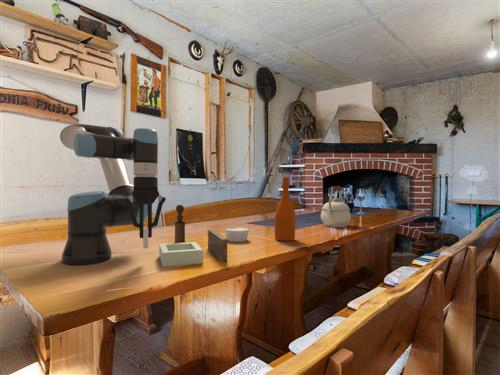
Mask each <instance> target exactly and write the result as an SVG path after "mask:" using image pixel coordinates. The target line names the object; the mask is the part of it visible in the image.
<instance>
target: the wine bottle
mask: <svg viewBox="0 0 500 375" xmlns="http://www.w3.org/2000/svg"><path fill="white" fill-rule="evenodd" d="M281 186H282V194H281V198H280V200H279V202H278V206H277V207H276V210H275V214H274V239H275V240H276V241H280V242H292V241H294V240H295V237H296V213H295V209H294V205H293V203H292V201H291V198H290V193H289V189H290V188H289V187H290V177H289V176H283V177H282V184H281Z"/></svg>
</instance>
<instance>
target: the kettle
mask: <svg viewBox="0 0 500 375" xmlns="http://www.w3.org/2000/svg"><path fill="white" fill-rule="evenodd" d="M334 191H336V192H337V191H338V195H339V198H338V197H334ZM333 197H334V198H333ZM350 211H351V208H350V207H349V205H348V204H347V203H345V202H343V195H342V186H340V185H339V186H336V185H335V186H330V195H329V199H328V202H326V203H324V204H323V205H322V207H321V212H320V220H321V221H322V222H323V225H324V226H325V225H326V226H325V227H330V226H331V227H330V228H345V226H346V227H348V224H349V223H350V221H351V219H352V216H351V212H350Z"/></svg>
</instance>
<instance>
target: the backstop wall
mask: <svg viewBox="0 0 500 375" xmlns="http://www.w3.org/2000/svg"><path fill="white" fill-rule="evenodd" d="M207 250H208V251H209V252H210V253H211V254H212V255H213V256H215V257H216V258H217V259H218V260H219V261H220V262H221V263H226V262H228V239H227V238H226V236H224V235H222V234H220V233H219V232H217V231H216V230H215V229H208V230H207Z"/></svg>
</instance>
